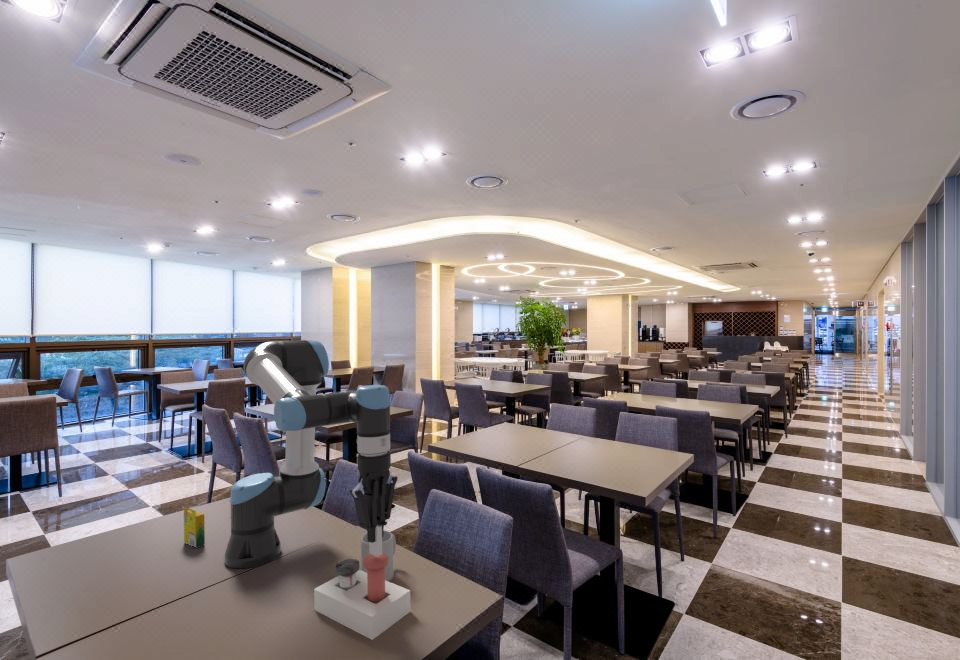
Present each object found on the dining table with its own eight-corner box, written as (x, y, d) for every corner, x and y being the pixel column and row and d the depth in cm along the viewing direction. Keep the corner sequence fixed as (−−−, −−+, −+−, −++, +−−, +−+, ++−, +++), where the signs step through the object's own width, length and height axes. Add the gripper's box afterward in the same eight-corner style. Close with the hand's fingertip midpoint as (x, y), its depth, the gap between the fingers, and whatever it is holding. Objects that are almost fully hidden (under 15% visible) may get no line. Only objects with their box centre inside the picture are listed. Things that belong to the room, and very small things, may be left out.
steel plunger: (331, 604, 111) (330, 566, 111) (349, 593, 116) (349, 556, 116) (346, 612, 108) (345, 572, 108) (364, 600, 113) (364, 562, 113)
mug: (380, 588, 119) (380, 546, 119) (354, 581, 122) (354, 540, 122) (407, 567, 129) (406, 528, 129) (382, 561, 133) (381, 523, 133)
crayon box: (205, 545, 146) (204, 508, 146) (195, 548, 143) (194, 511, 143) (193, 539, 150) (193, 503, 150) (183, 543, 147) (183, 506, 147)
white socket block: (314, 610, 110) (314, 589, 110) (353, 586, 120) (353, 567, 120) (372, 640, 99) (371, 616, 99) (410, 611, 109) (410, 590, 109)
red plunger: (358, 600, 106) (358, 560, 106) (377, 589, 110) (376, 550, 110) (375, 608, 103) (375, 567, 103) (393, 596, 107) (393, 556, 107)
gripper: (363, 461, 99) (365, 570, 99) (405, 448, 110) (407, 546, 110) (340, 456, 103) (342, 561, 103) (383, 444, 114) (384, 539, 114)
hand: (375, 553), depth 106 cm, fingers closed
